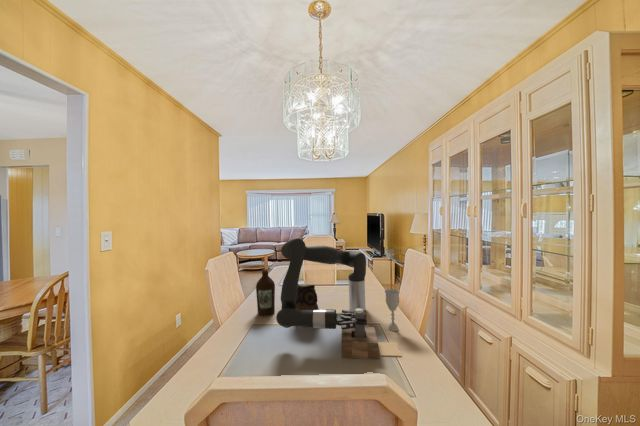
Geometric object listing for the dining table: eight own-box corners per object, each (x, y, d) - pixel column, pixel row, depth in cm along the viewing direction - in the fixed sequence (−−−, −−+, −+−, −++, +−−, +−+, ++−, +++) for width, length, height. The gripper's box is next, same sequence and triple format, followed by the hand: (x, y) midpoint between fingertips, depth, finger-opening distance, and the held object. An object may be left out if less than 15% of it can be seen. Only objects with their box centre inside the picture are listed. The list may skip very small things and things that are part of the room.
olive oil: (257, 310, 152) (256, 268, 152) (275, 309, 154) (274, 267, 154) (255, 317, 142) (254, 272, 142) (275, 316, 143) (274, 270, 143)
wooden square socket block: (342, 339, 114) (342, 326, 114) (374, 340, 113) (374, 327, 113) (341, 357, 100) (341, 342, 100) (378, 358, 99) (378, 343, 99)
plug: (354, 343, 109) (354, 307, 109) (364, 343, 108) (363, 308, 108) (355, 348, 105) (354, 311, 105) (365, 348, 104) (364, 311, 104)
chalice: (390, 333, 119) (389, 294, 119) (382, 326, 126) (381, 290, 126) (404, 330, 121) (402, 292, 121) (396, 324, 128) (395, 288, 128)
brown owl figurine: (320, 324, 131) (319, 285, 130) (296, 328, 127) (295, 287, 127) (314, 315, 143) (313, 279, 143) (291, 318, 139) (290, 281, 139)
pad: (377, 343, 111) (377, 342, 111) (396, 343, 110) (396, 342, 110) (380, 356, 101) (380, 355, 101) (401, 356, 100) (401, 355, 100)
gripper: (322, 316, 101) (367, 317, 99) (325, 303, 115) (364, 304, 113) (323, 336, 101) (367, 337, 99) (326, 320, 115) (365, 321, 113)
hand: (366, 319), depth 106 cm, fingers closed on plug, 4 cm apart
